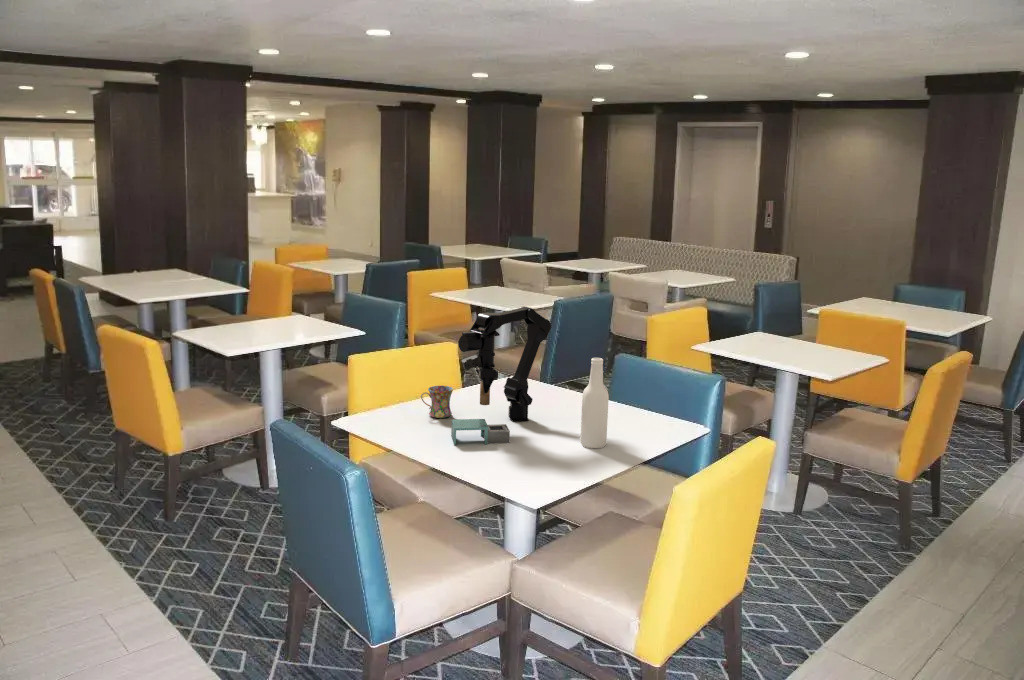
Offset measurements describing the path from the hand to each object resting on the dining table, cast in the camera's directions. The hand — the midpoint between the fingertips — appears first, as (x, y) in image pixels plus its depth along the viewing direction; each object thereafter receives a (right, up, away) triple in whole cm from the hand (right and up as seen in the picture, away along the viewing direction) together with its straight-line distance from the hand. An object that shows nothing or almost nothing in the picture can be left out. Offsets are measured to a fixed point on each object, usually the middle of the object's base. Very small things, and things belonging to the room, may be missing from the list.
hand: (485, 391), depth 297 cm
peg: (0, -4, +1) cm, 4 cm away
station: (-2, -16, -13) cm, 20 cm away
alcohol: (+37, -17, -15) cm, 44 cm away
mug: (-18, -10, +14) cm, 25 cm away
